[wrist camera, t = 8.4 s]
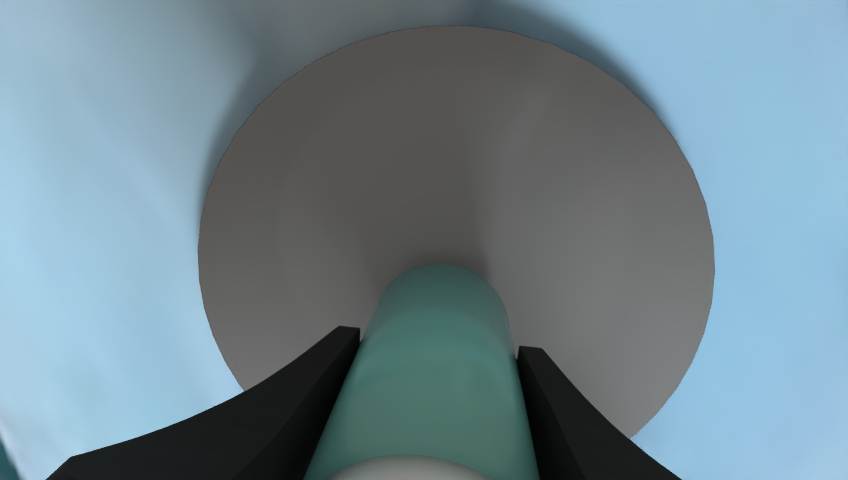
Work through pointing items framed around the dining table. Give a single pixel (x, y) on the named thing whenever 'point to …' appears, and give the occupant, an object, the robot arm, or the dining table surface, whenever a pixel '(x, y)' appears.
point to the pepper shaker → (431, 388)
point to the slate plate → (463, 210)
